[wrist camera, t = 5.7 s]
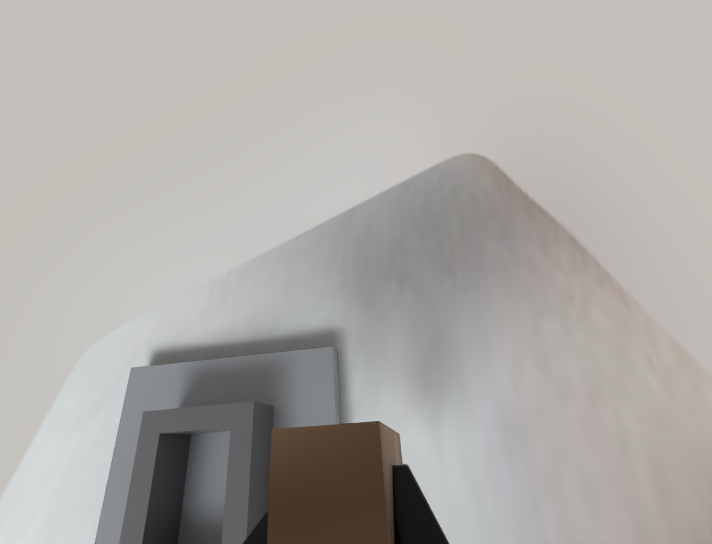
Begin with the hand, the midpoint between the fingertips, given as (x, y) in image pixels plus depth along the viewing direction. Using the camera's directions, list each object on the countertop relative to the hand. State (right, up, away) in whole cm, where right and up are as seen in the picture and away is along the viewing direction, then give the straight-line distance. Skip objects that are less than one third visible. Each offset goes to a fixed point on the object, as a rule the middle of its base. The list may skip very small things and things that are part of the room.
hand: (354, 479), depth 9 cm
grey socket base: (-8, -8, +12) cm, 17 cm away
